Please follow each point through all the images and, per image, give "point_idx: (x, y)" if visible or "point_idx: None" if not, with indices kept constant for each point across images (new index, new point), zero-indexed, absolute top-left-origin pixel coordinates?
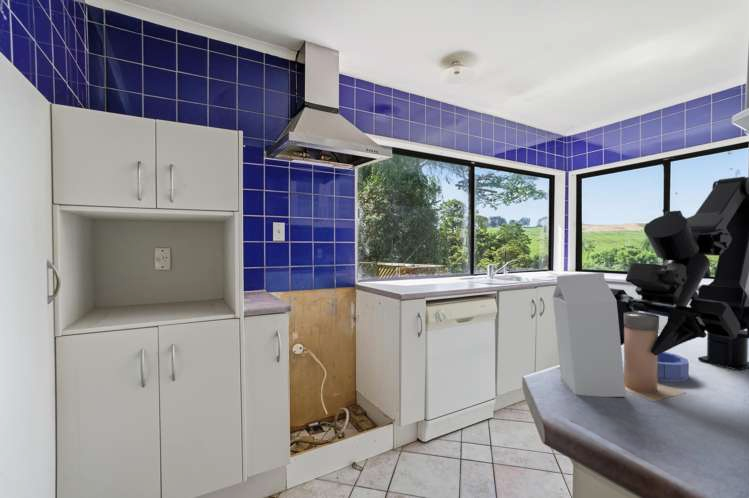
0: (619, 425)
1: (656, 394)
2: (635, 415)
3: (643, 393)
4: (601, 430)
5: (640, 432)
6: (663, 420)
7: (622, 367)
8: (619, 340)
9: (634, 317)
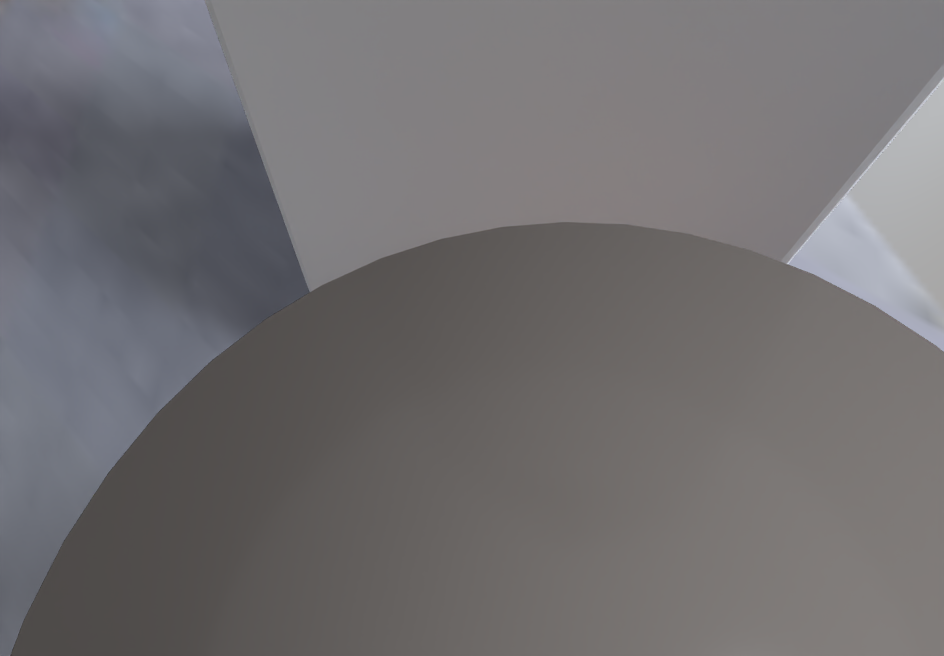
0: (127, 151)
1: None
2: (188, 298)
3: None
4: (114, 55)
5: (48, 193)
6: (102, 403)
7: (293, 245)
8: (219, 35)
9: (364, 280)
